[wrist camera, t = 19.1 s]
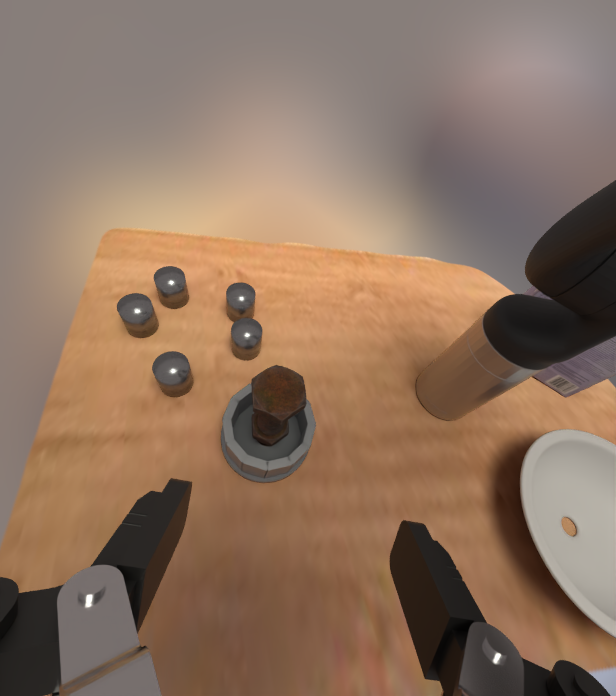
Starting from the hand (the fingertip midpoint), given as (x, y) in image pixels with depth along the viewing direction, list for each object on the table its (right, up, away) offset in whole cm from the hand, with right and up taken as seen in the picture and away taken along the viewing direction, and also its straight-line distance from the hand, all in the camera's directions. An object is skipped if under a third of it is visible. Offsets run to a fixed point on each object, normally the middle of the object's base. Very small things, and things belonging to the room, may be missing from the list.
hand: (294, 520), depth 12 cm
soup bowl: (+37, -19, +34) cm, 53 cm away
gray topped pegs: (-17, +9, +39) cm, 43 cm away
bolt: (-5, -5, +31) cm, 32 cm away
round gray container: (-5, -6, +32) cm, 33 cm away
